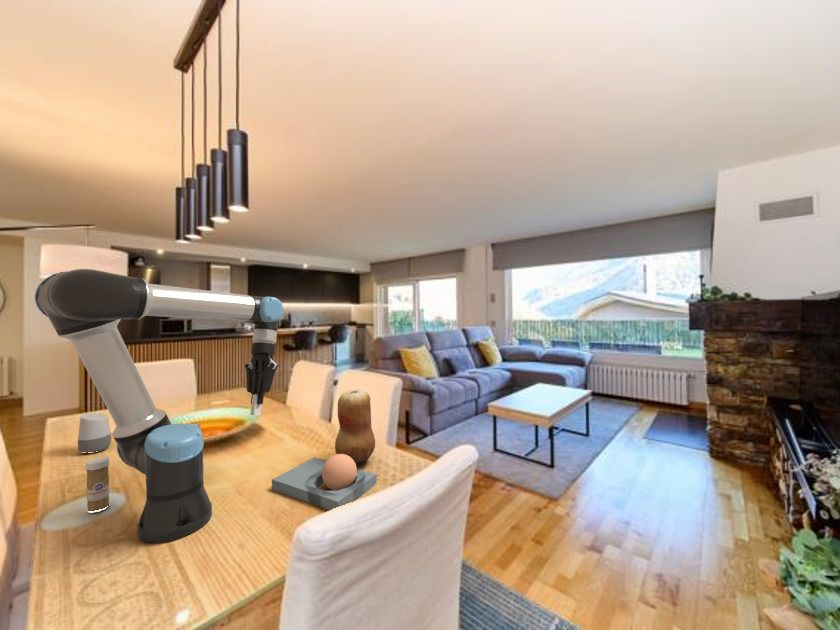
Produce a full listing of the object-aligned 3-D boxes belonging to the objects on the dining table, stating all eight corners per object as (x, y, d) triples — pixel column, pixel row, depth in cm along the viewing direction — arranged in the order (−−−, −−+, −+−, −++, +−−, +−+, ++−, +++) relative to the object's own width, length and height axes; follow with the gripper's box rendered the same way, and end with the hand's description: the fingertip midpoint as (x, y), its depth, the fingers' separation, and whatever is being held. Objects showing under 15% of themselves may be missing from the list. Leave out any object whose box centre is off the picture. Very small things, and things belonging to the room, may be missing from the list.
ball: (309, 474, 102) (330, 499, 103) (325, 471, 96) (347, 498, 97) (332, 448, 110) (351, 472, 111) (349, 444, 103) (369, 470, 104)
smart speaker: (106, 453, 130) (105, 415, 130) (73, 457, 126) (72, 419, 126) (115, 444, 139) (114, 409, 138) (84, 448, 135) (83, 412, 134)
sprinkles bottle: (91, 516, 90) (89, 464, 90) (83, 511, 92) (82, 461, 92) (113, 507, 94) (112, 458, 94) (105, 503, 96) (104, 454, 96)
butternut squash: (326, 465, 118) (326, 392, 118) (352, 451, 130) (351, 384, 130) (359, 474, 112) (359, 397, 111) (383, 458, 124) (382, 388, 123)
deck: (272, 489, 103) (271, 479, 103) (314, 466, 118) (314, 457, 118) (338, 513, 91) (338, 501, 91) (376, 484, 106) (376, 474, 106)
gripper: (286, 344, 121) (279, 415, 115) (258, 346, 126) (250, 414, 120) (270, 340, 114) (261, 415, 108) (241, 342, 119) (231, 414, 113)
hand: (255, 414), depth 114 cm, fingers closed
